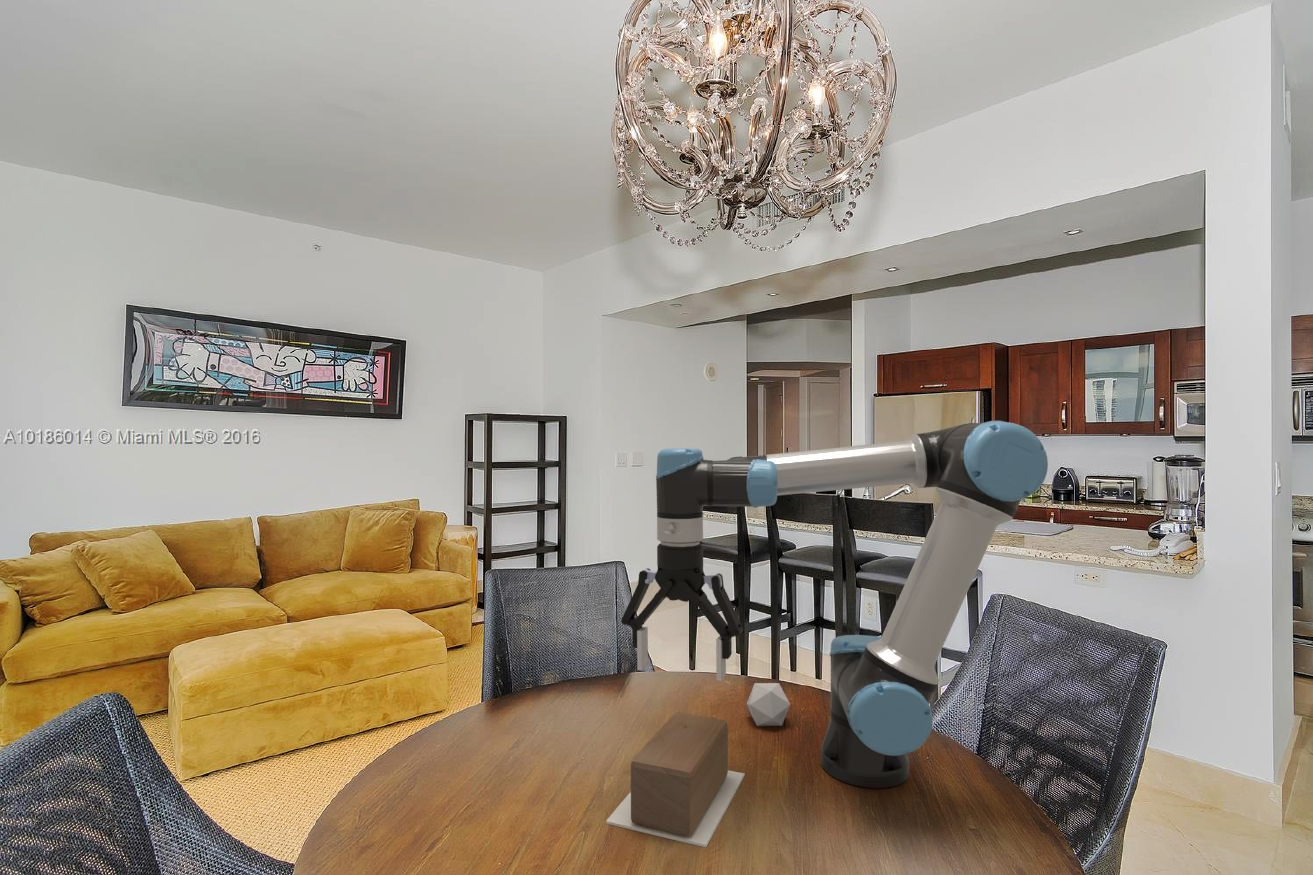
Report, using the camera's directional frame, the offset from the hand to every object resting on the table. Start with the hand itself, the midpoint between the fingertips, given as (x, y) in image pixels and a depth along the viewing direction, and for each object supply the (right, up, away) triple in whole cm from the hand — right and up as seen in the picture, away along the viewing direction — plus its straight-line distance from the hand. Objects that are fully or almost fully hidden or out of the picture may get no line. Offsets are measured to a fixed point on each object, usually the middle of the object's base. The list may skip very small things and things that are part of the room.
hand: (681, 673), depth 109 cm
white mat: (0, -20, 0) cm, 20 cm away
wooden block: (-4, -15, -10) cm, 19 cm away
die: (+19, -21, +29) cm, 40 cm away
